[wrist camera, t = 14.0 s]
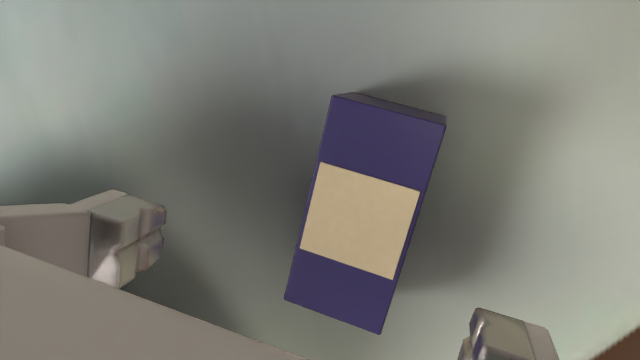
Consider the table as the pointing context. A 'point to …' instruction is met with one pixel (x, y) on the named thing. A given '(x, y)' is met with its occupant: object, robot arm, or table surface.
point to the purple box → (362, 207)
